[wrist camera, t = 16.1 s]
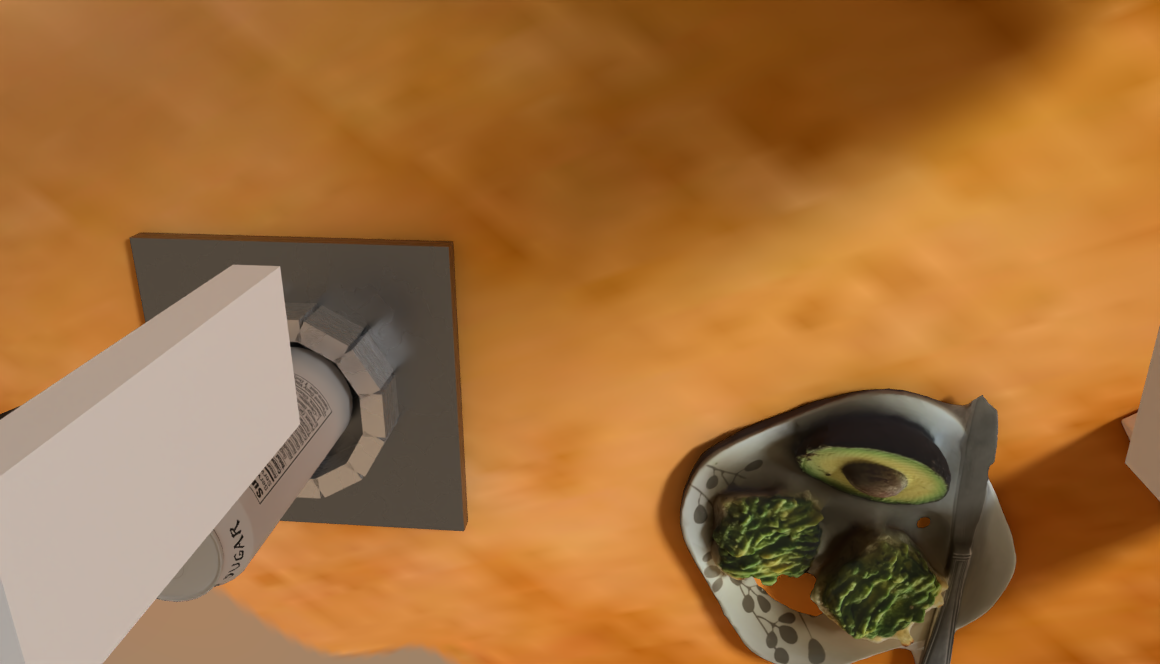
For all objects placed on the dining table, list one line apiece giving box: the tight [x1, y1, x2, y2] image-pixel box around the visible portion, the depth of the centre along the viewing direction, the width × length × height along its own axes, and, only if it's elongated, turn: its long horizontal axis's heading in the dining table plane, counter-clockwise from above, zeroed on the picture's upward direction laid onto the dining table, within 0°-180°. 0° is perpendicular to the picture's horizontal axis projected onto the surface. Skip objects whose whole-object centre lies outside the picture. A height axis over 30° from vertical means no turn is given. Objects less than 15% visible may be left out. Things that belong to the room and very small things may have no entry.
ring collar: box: [130, 233, 468, 531], centre depth 49 cm, size 17×17×4 cm
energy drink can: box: [156, 347, 353, 602], centre depth 43 cm, size 6×6×15 cm
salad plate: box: [680, 389, 1016, 664], centre depth 49 cm, size 19×18×5 cm
